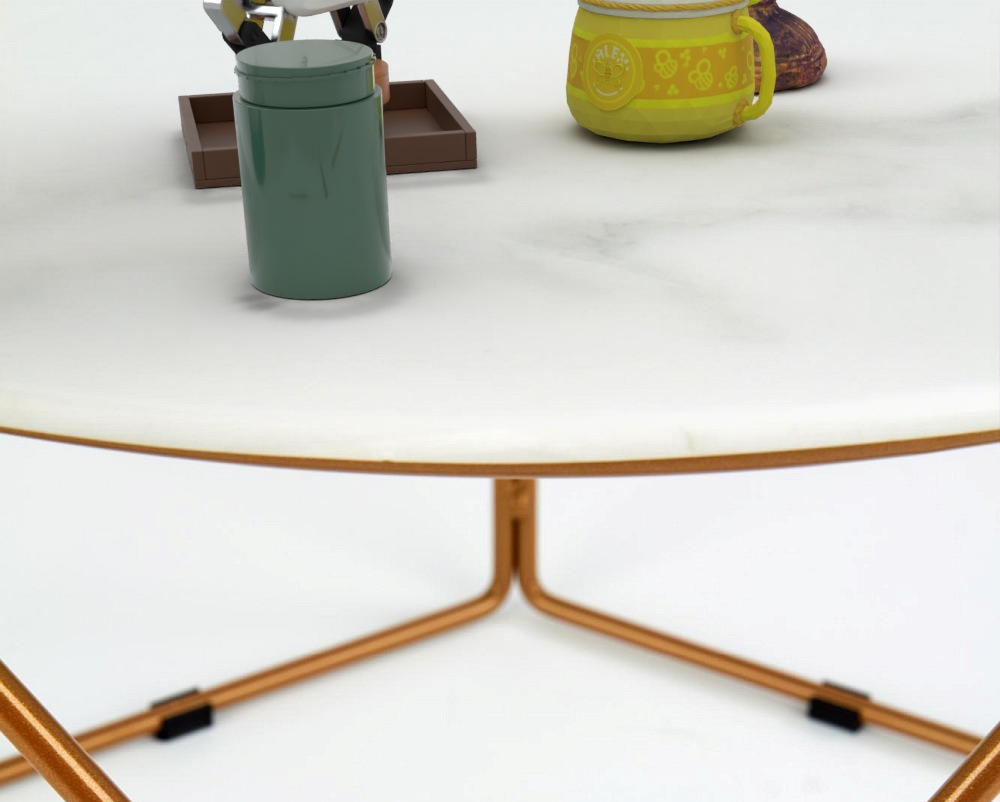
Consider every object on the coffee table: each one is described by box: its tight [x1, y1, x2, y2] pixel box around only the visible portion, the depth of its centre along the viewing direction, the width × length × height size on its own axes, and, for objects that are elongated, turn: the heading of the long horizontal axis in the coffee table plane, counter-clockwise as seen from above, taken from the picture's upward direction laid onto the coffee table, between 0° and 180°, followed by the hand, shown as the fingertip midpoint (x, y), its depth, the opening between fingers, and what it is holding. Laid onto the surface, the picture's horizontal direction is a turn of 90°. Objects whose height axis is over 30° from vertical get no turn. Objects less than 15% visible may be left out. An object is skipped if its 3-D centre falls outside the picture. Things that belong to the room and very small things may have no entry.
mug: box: [565, 0, 776, 144], centre depth 95 cm, size 13×11×12 cm
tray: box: [177, 78, 478, 189], centre depth 97 cm, size 15×13×2 cm
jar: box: [233, 38, 393, 300], centre depth 75 cm, size 6×6×10 cm
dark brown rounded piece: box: [747, 0, 828, 94], centre depth 109 cm, size 12×12×7 cm
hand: (319, 127), depth 96 cm, fingers closed on lid, 6 cm apart
